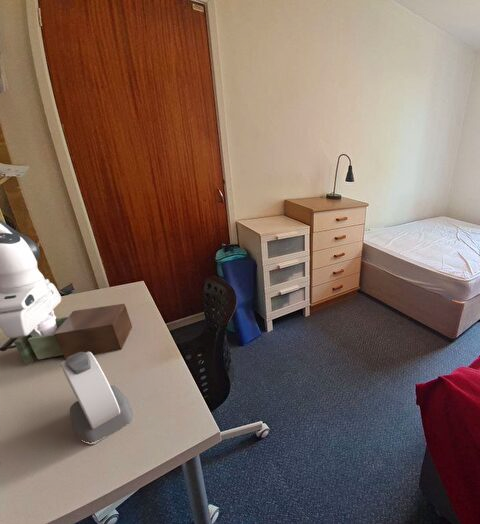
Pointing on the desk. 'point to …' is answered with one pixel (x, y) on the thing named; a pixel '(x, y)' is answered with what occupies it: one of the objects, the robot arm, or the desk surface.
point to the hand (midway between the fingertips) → (45, 331)
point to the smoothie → (48, 325)
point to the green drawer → (36, 345)
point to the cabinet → (94, 330)
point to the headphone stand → (94, 399)
